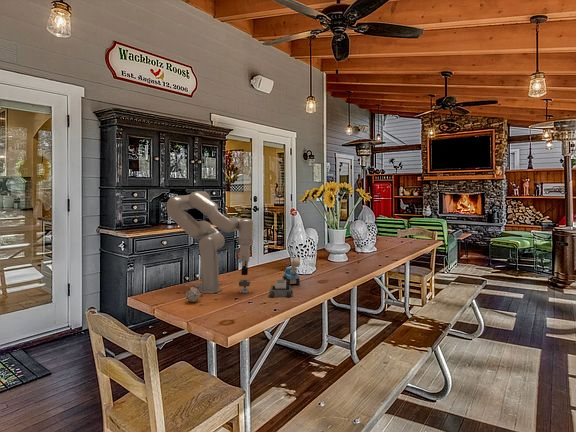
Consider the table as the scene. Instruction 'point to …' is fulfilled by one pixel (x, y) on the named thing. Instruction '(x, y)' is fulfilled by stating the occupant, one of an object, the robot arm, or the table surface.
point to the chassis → (280, 292)
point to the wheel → (244, 283)
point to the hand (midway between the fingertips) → (244, 274)
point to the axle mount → (244, 290)
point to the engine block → (280, 284)
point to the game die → (193, 294)
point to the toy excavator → (292, 273)
